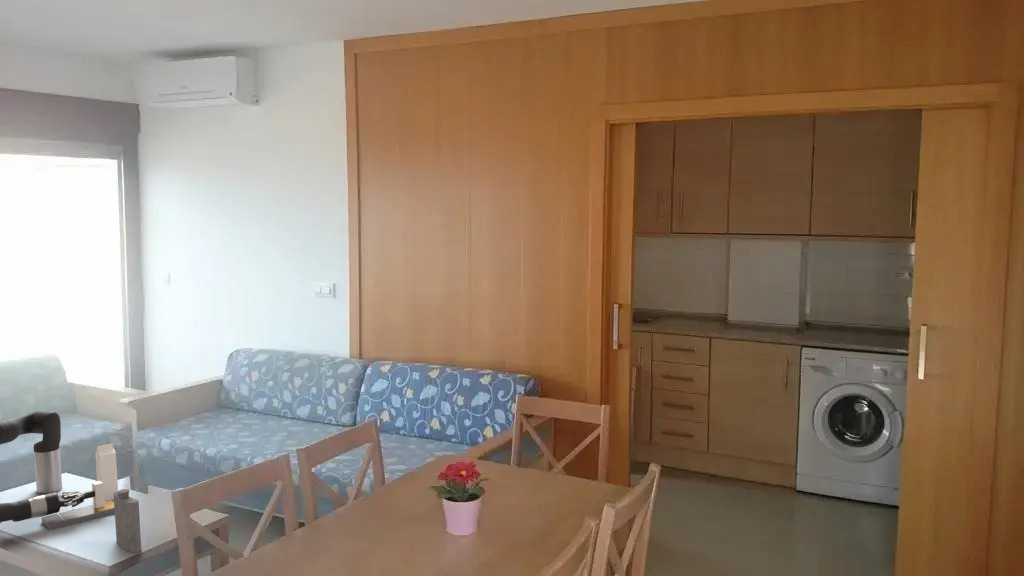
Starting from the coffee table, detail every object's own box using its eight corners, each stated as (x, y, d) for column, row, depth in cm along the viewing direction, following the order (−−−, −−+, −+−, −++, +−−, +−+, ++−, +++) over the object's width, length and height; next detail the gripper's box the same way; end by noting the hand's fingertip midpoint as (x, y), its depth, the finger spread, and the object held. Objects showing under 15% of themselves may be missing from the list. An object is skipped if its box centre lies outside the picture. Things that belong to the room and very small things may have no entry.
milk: (118, 498, 324) (115, 445, 321) (102, 502, 319) (99, 448, 317) (113, 494, 328) (110, 441, 326) (97, 498, 324) (94, 444, 322)
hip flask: (143, 551, 274) (139, 494, 271) (130, 554, 271) (127, 497, 269) (124, 538, 284) (121, 483, 282) (112, 541, 281) (108, 486, 279)
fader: (93, 505, 308) (91, 482, 307) (101, 503, 310) (100, 480, 310) (96, 508, 306) (95, 484, 305) (104, 506, 308) (103, 482, 307)
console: (42, 522, 299) (41, 516, 299) (116, 504, 317) (115, 498, 317) (49, 530, 292) (49, 524, 292) (125, 510, 310) (124, 505, 310)
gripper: (47, 500, 289) (99, 488, 301) (37, 491, 299) (87, 479, 311) (49, 520, 290) (100, 507, 302) (38, 510, 300) (89, 498, 312)
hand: (94, 493), depth 307 cm, fingers closed
